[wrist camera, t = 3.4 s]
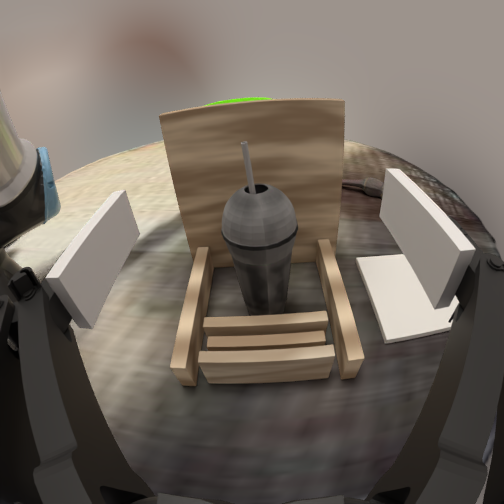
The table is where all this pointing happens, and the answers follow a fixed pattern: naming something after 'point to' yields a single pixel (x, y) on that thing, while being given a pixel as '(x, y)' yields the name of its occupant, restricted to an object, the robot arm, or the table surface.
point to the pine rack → (266, 172)
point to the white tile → (401, 299)
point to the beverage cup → (260, 242)
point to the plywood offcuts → (266, 348)
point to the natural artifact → (368, 186)
